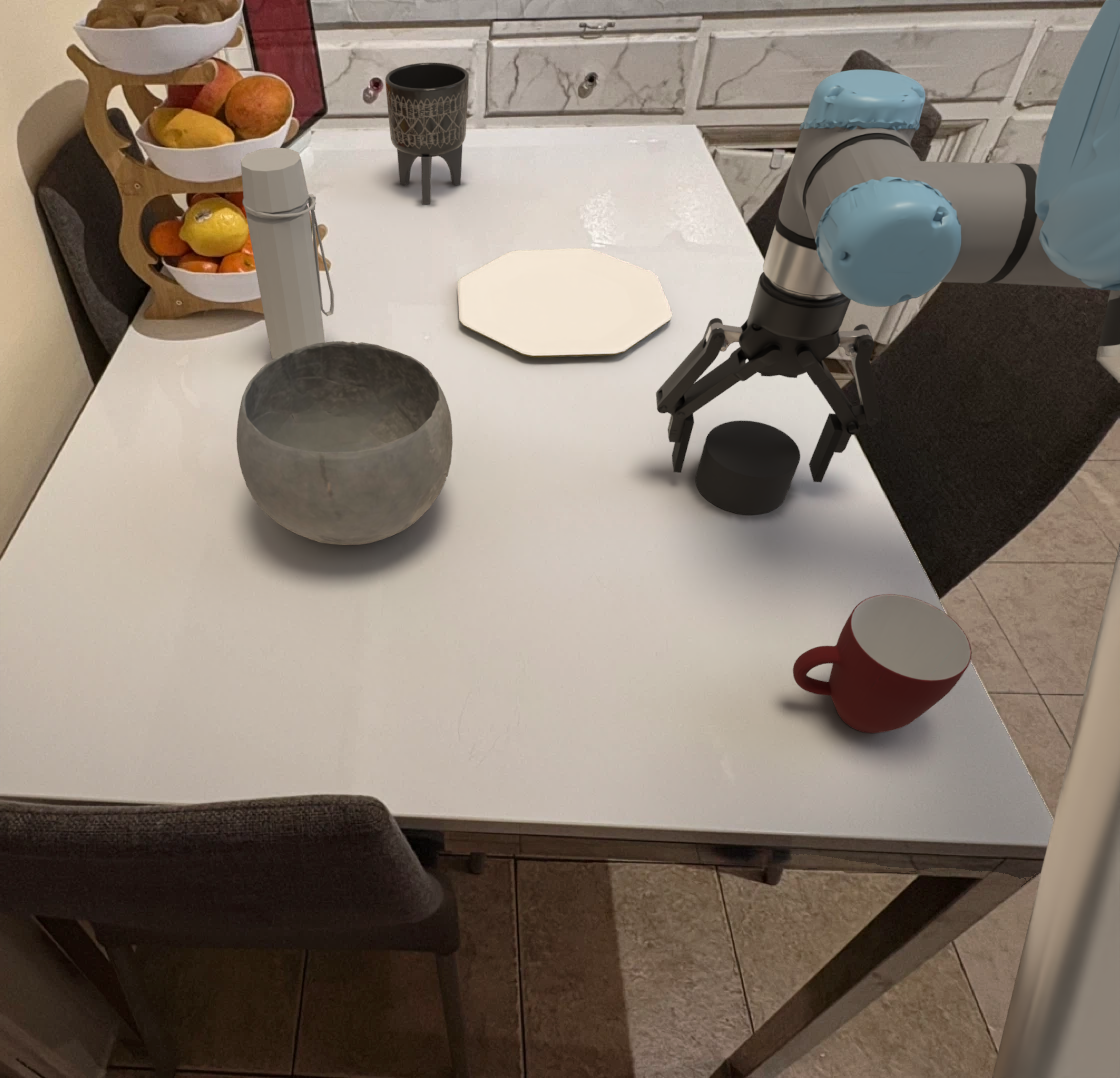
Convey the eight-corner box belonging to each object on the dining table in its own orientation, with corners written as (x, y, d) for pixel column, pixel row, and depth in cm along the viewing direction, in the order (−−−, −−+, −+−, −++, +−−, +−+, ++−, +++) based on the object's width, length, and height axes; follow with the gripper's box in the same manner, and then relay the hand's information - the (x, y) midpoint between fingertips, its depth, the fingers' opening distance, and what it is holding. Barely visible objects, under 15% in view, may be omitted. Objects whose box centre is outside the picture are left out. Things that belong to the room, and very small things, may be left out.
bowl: (458, 580, 80) (459, 458, 69) (243, 588, 80) (212, 469, 69) (446, 443, 94) (445, 325, 84) (264, 451, 95) (241, 335, 84)
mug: (795, 757, 65) (837, 683, 58) (765, 672, 71) (800, 594, 64) (934, 756, 65) (993, 681, 58) (893, 670, 70) (942, 592, 63)
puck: (799, 479, 88) (814, 441, 84) (765, 527, 83) (779, 490, 79) (717, 446, 92) (728, 409, 88) (680, 491, 87) (690, 454, 84)
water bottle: (285, 382, 104) (250, 179, 86) (261, 352, 109) (224, 154, 91) (351, 360, 107) (331, 159, 89) (325, 332, 112) (302, 136, 94)
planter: (465, 206, 137) (466, 89, 124) (386, 206, 138) (380, 90, 126) (469, 174, 146) (470, 61, 133) (395, 174, 147) (390, 62, 135)
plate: (685, 361, 103) (687, 350, 102) (461, 366, 105) (461, 356, 104) (644, 255, 123) (646, 245, 122) (455, 261, 124) (455, 251, 123)
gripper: (954, 262, 72) (866, 453, 87) (653, 251, 75) (619, 437, 90) (982, 308, 66) (883, 502, 82) (657, 295, 70) (621, 484, 85)
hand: (744, 468), depth 86 cm, fingers open, 13 cm apart
